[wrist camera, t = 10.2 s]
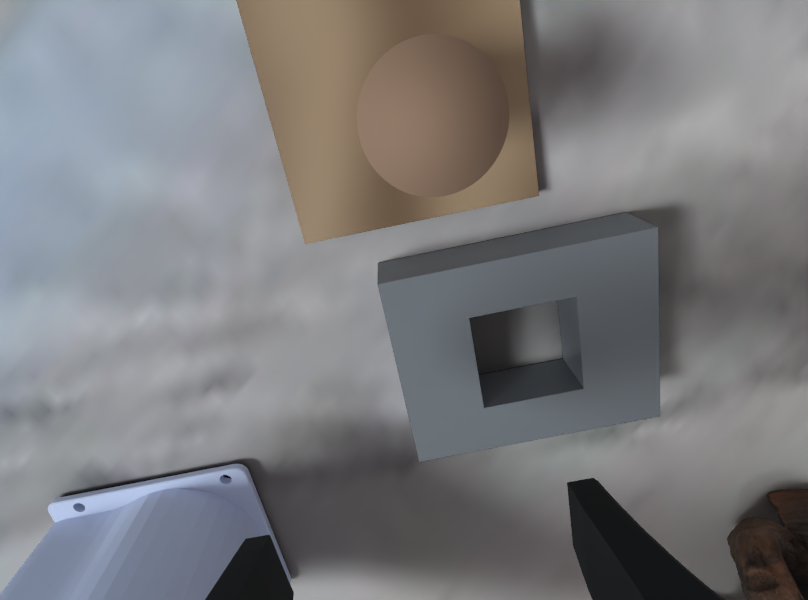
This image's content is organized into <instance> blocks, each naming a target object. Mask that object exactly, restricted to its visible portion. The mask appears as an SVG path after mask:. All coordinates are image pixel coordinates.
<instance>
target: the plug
mask: <svg viewBox="0 0 808 600" xmlns="http://www.w3.org/2000/svg"><path fill="white" fill-rule="evenodd" d="M508 127H509V101H508V95H507V92H506V88H505V85H504V82H503V80H502V78H501V75H500V74H499V72H498V70H497V69H496V67H495V65H494V64H493V63H492V62H491V60H490V59H489V58H488V57H487V56H486V55H485V54H484V53H483V52H482V51H481V50H479V49H478V48H477V47H475V46H474V45H472V44H471V43H469V42H467V41H465V40H463V39H460V38H457V37H454V36H449V35H444V34H427V35H420V36H416V37H413V38H410V39H407V40H405V41H403V42H401V43H399V44H397V45H396V46H394V47H392V48H391V49H390V50H389V51H387V52H386V53H385V54H384V55H383V56H382V57H381V58H380V59H379V60H378V61H377V62H376V63H375V65H374V66H373V68H372V69H371V71H370V72H369V74H368V76H367V78H366V79H365V81H364V84H363V86H362V89H361V92H360V95H359V100H358V105H357V129H358V135H359V139H360V143H361V146H362V148H363V151H364V153H365V155H366V157H367V159H368V161H369V162H370V164H371V165H372V167H373V168H374V169H375V171H376V172H377V173H378V174H379V175H380V176H381V177H382V178H383V179H384V180H385V181H387V182H388V183H389V184H390V185H392V186H394V187H395V188H397V189H399V190H401V191H403V192H406V193H408V194H412V195H415V196H421V197H441V196H447V195H451V194H455V193H457V192H459V191H462V190H464V189H466V188H468V187H469V186H471V185H473V184H474V183H475V182H477V181H478V180H479V179H480V178H481V177H482V176H484V175H485V174H486V173H487V172H488V170H489V169H490V168H491V167H492V165H493V164H494V162H495V161H496V159H497V158H498V156H499V154H500V152H501V150H502V148H503V145H504V142H505V139H506V136H507V132H508Z"/></svg>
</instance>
